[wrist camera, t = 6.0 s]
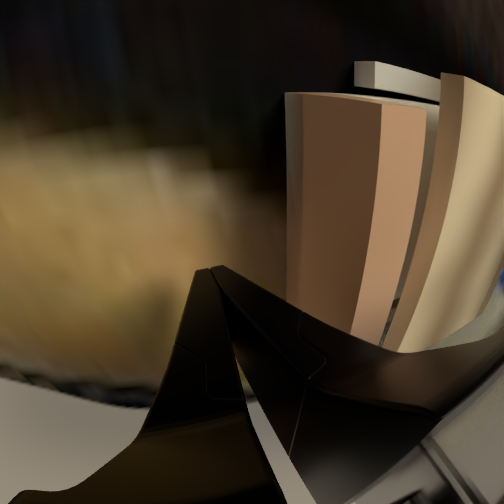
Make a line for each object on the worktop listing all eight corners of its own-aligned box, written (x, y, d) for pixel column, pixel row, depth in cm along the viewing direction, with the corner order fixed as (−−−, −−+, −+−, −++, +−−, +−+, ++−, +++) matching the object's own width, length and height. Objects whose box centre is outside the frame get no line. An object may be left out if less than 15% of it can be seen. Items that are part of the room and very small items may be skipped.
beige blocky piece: (470, 111, 12) (542, 137, 8) (442, 259, 17) (494, 301, 13) (282, 92, 9) (381, 104, 5) (284, 314, 14) (333, 394, 10)
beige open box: (486, 100, 12) (540, 118, 8) (446, 281, 18) (482, 312, 15) (354, 61, 9) (437, 64, 6) (326, 326, 16) (365, 380, 12)
